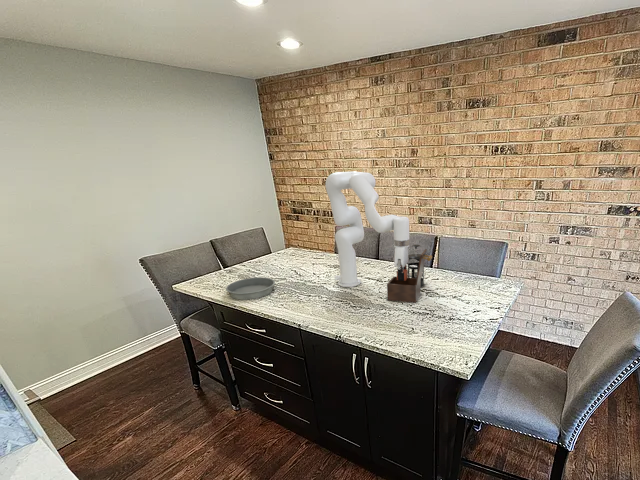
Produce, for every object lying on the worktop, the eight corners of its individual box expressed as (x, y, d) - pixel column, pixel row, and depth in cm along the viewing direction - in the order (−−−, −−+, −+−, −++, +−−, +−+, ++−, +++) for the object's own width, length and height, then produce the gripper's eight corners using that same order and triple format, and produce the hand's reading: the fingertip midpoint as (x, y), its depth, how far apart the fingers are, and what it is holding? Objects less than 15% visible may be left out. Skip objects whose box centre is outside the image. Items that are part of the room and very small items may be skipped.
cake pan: (239, 305, 167) (238, 296, 166) (220, 293, 183) (218, 285, 181) (284, 291, 184) (283, 283, 182) (263, 281, 199) (261, 274, 198)
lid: (420, 254, 156) (430, 257, 156) (425, 248, 167) (434, 250, 166) (414, 285, 163) (424, 287, 162) (419, 277, 173) (428, 279, 172)
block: (396, 280, 168) (396, 271, 167) (399, 277, 172) (399, 268, 171) (405, 280, 167) (405, 272, 165) (407, 277, 171) (407, 269, 169)
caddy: (387, 300, 170) (387, 283, 167) (393, 292, 180) (393, 276, 177) (415, 302, 166) (415, 286, 163) (420, 294, 177) (420, 278, 173)
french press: (420, 289, 183) (420, 248, 174) (404, 287, 186) (404, 246, 178) (427, 282, 193) (428, 243, 184) (412, 280, 196) (411, 241, 188)
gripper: (398, 238, 171) (399, 273, 178) (389, 246, 156) (390, 283, 163) (413, 239, 169) (413, 273, 176) (404, 247, 154) (405, 284, 161)
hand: (402, 278), depth 170 cm, fingers closed on block, 4 cm apart
